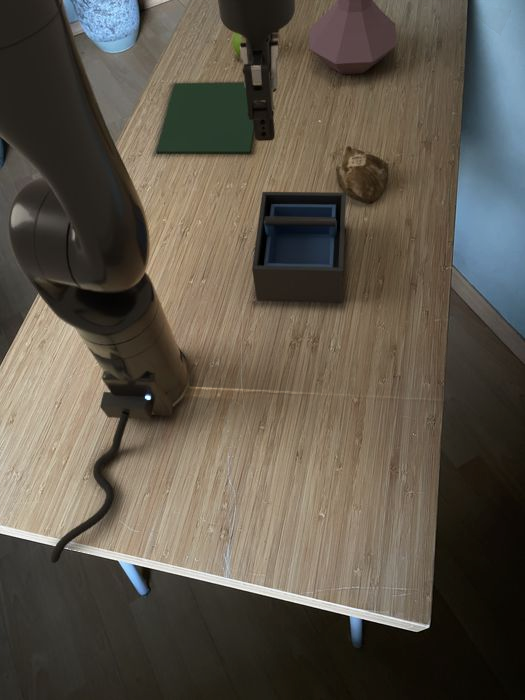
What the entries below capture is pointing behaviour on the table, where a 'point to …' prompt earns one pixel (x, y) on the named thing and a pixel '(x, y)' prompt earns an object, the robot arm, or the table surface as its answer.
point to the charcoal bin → (298, 279)
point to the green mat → (207, 120)
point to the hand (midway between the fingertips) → (266, 114)
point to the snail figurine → (237, 42)
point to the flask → (353, 36)
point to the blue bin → (300, 235)
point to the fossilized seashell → (362, 175)
